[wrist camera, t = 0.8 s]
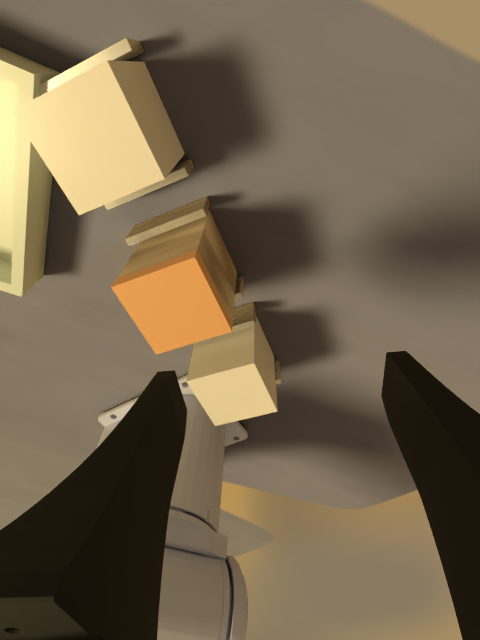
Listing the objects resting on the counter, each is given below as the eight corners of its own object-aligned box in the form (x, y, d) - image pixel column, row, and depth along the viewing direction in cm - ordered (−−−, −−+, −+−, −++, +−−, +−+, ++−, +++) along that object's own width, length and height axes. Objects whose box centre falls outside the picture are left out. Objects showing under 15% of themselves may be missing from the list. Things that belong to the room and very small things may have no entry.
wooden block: (236, 271, 22) (231, 331, 17) (177, 292, 23) (156, 354, 18) (209, 209, 20) (194, 257, 15) (145, 234, 21) (111, 287, 16)
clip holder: (279, 363, 26) (281, 383, 24) (222, 378, 27) (220, 398, 25) (139, 41, 16) (126, 37, 14) (55, 85, 17) (34, 88, 15)
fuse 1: (184, 153, 18) (164, 178, 14) (116, 183, 19) (79, 215, 15) (144, 61, 16) (106, 60, 12) (69, 100, 17) (11, 111, 13)
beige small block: (273, 355, 25) (277, 411, 21) (221, 370, 26) (215, 426, 22) (254, 311, 23) (254, 363, 19) (197, 328, 24) (186, 381, 20)
